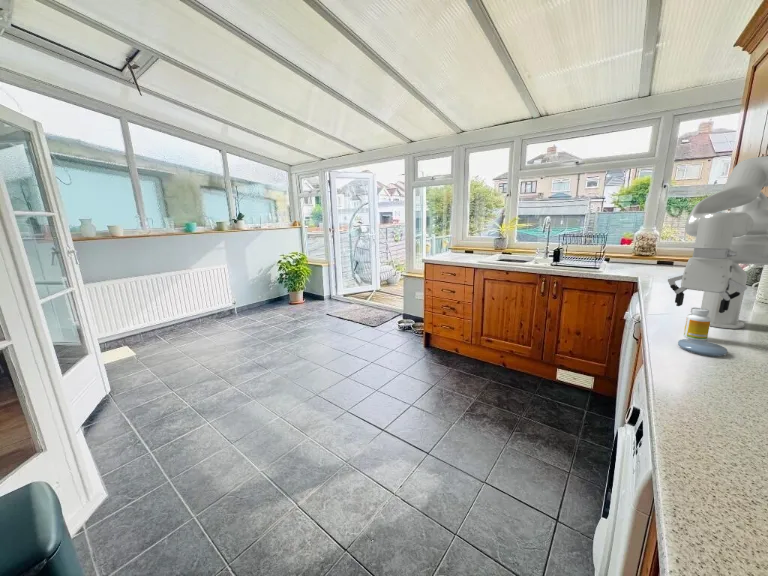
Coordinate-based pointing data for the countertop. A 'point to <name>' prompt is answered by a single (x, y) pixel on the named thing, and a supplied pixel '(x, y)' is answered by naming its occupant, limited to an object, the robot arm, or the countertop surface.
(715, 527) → the countertop surface
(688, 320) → the supplement bottle
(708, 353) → the pale blue round plate
